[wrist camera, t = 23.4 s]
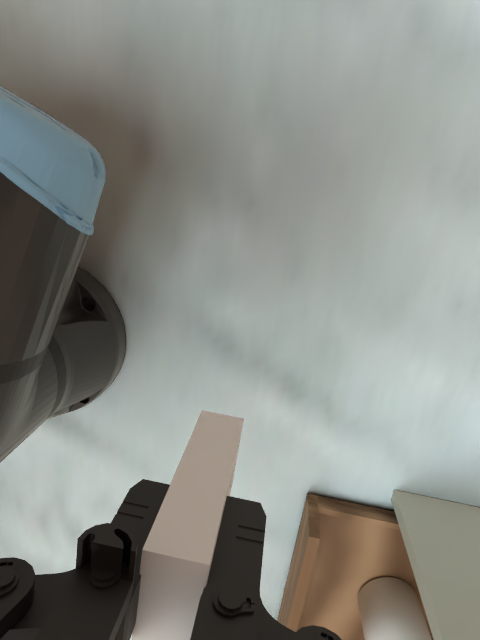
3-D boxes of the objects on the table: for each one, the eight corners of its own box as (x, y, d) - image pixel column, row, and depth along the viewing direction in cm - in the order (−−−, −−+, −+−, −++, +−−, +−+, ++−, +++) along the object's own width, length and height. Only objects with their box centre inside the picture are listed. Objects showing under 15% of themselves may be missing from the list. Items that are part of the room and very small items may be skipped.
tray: (275, 631, 52) (272, 686, 46) (307, 493, 46) (308, 536, 41) (445, 671, 50) (464, 732, 45) (498, 533, 45) (528, 584, 39)
